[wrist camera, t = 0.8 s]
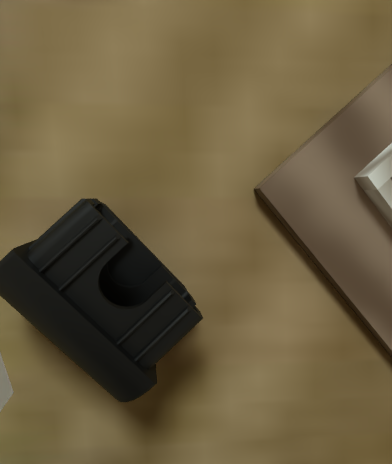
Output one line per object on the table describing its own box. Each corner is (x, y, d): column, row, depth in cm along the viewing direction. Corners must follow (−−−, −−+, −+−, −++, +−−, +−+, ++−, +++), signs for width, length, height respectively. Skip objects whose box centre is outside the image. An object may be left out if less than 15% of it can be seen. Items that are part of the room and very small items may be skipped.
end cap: (15, 265, 22) (-39, 294, 16) (94, 193, 23) (74, 191, 16) (121, 364, 24) (114, 427, 18) (193, 295, 25) (213, 331, 18)
